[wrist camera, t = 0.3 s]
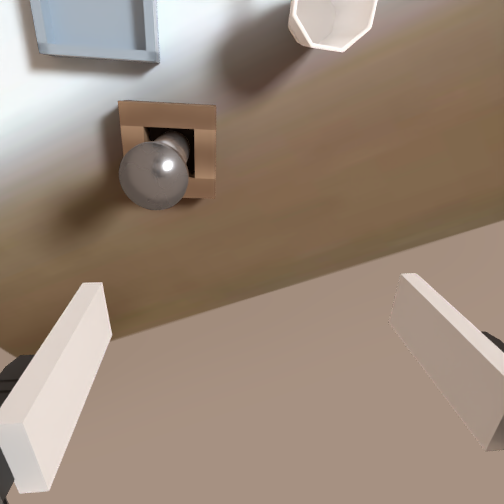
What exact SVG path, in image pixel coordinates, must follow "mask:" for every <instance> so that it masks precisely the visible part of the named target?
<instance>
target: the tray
mask: <svg viewBox="0 0 504 504" xmlns="http://www.w3.org/2000/svg"><path fill="white" fill-rule="evenodd" d="M30 4H31V10H32V15H33V21H34V26H35V32H36V37H37V43H38V48H39V53H41V54H45V55H50V56H62V57H76V58H91V59H105V60H119V61H133V62H148V63H160V57H159V38H158V18H157V0H30Z"/></svg>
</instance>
